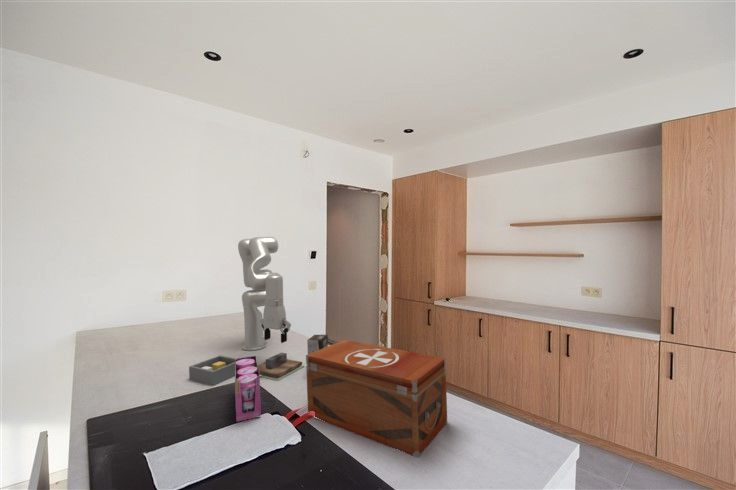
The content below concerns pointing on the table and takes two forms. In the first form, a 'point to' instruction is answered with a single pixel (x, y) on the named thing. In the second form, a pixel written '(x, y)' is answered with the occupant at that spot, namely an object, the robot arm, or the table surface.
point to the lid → (278, 365)
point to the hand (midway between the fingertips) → (275, 340)
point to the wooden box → (379, 393)
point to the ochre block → (218, 365)
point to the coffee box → (317, 343)
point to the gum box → (247, 388)
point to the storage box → (212, 376)
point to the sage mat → (283, 374)
